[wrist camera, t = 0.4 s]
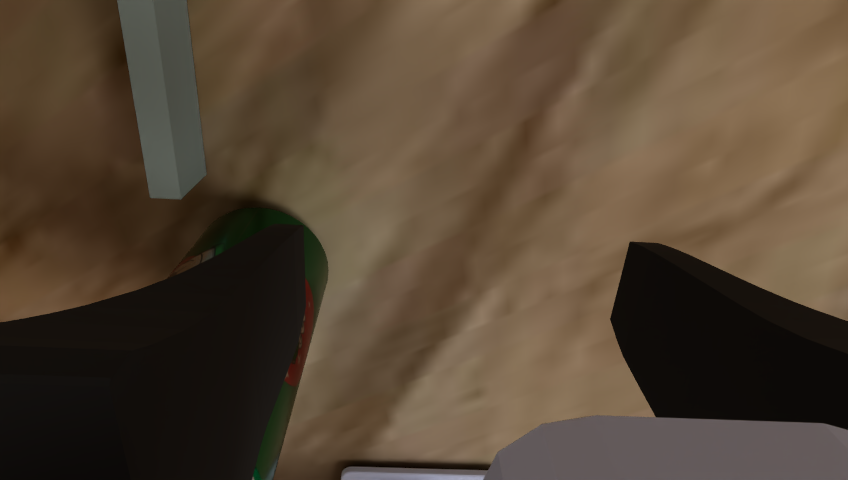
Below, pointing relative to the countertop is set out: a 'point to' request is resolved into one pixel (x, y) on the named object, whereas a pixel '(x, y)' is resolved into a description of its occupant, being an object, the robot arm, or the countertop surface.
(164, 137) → the corral
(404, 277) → the countertop surface
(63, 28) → the countertop surface
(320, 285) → the soda can
